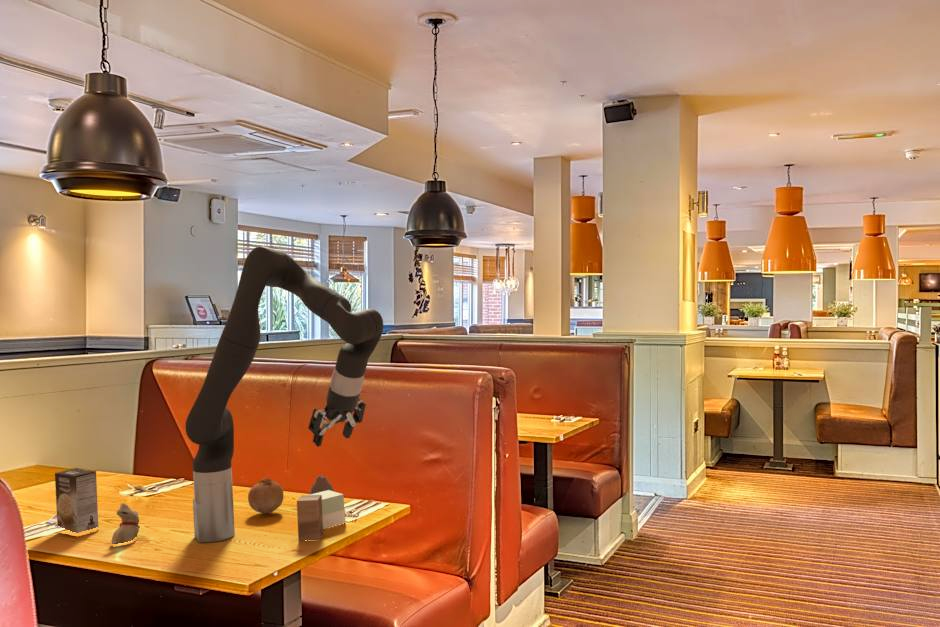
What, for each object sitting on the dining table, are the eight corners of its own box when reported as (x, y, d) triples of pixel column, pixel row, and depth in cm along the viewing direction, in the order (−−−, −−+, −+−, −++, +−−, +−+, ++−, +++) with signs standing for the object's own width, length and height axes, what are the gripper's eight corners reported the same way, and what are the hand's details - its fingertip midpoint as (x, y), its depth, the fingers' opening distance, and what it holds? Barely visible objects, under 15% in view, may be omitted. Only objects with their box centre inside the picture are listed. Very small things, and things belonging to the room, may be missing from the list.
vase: (329, 511, 217) (328, 479, 217) (306, 511, 218) (304, 479, 218) (338, 504, 224) (337, 474, 223) (316, 504, 225) (314, 473, 225)
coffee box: (56, 533, 206) (53, 472, 205) (79, 526, 211) (76, 467, 211) (77, 538, 201) (74, 475, 201) (100, 531, 207) (97, 470, 206)
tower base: (322, 531, 200) (321, 515, 200) (307, 525, 205) (307, 510, 205) (345, 524, 205) (344, 509, 205) (330, 519, 210) (329, 504, 210)
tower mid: (321, 515, 200) (320, 499, 200) (306, 510, 205) (305, 495, 205) (344, 509, 205) (343, 494, 204) (329, 504, 210) (328, 490, 210)
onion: (291, 512, 218) (289, 476, 218) (265, 521, 210) (263, 483, 210) (267, 507, 223) (266, 472, 223) (241, 516, 215) (239, 480, 215)
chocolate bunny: (146, 540, 197) (144, 501, 196) (113, 548, 191) (111, 508, 191) (137, 536, 201) (135, 497, 200) (105, 544, 195) (103, 504, 195)
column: (318, 540, 191) (317, 500, 191) (298, 541, 191) (296, 500, 191) (323, 534, 196) (321, 494, 196) (303, 535, 196) (301, 495, 196)
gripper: (360, 372, 193) (346, 425, 200) (311, 382, 183) (298, 438, 190) (378, 389, 188) (363, 442, 195) (329, 400, 178) (315, 456, 185)
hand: (331, 440), depth 192 cm, fingers open, 8 cm apart
